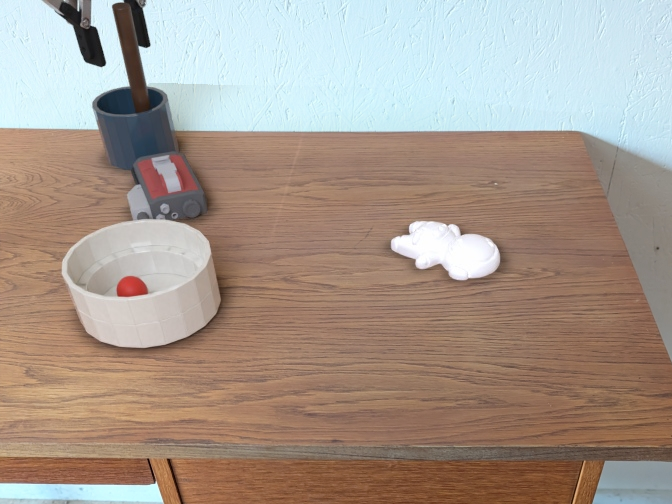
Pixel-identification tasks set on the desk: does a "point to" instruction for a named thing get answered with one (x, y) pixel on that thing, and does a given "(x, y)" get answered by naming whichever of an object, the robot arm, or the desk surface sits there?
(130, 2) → the robot arm
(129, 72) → the stick
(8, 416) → the desk surface
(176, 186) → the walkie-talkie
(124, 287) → the red ball
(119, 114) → the crock
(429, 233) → the white animal figurine
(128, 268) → the bowl
